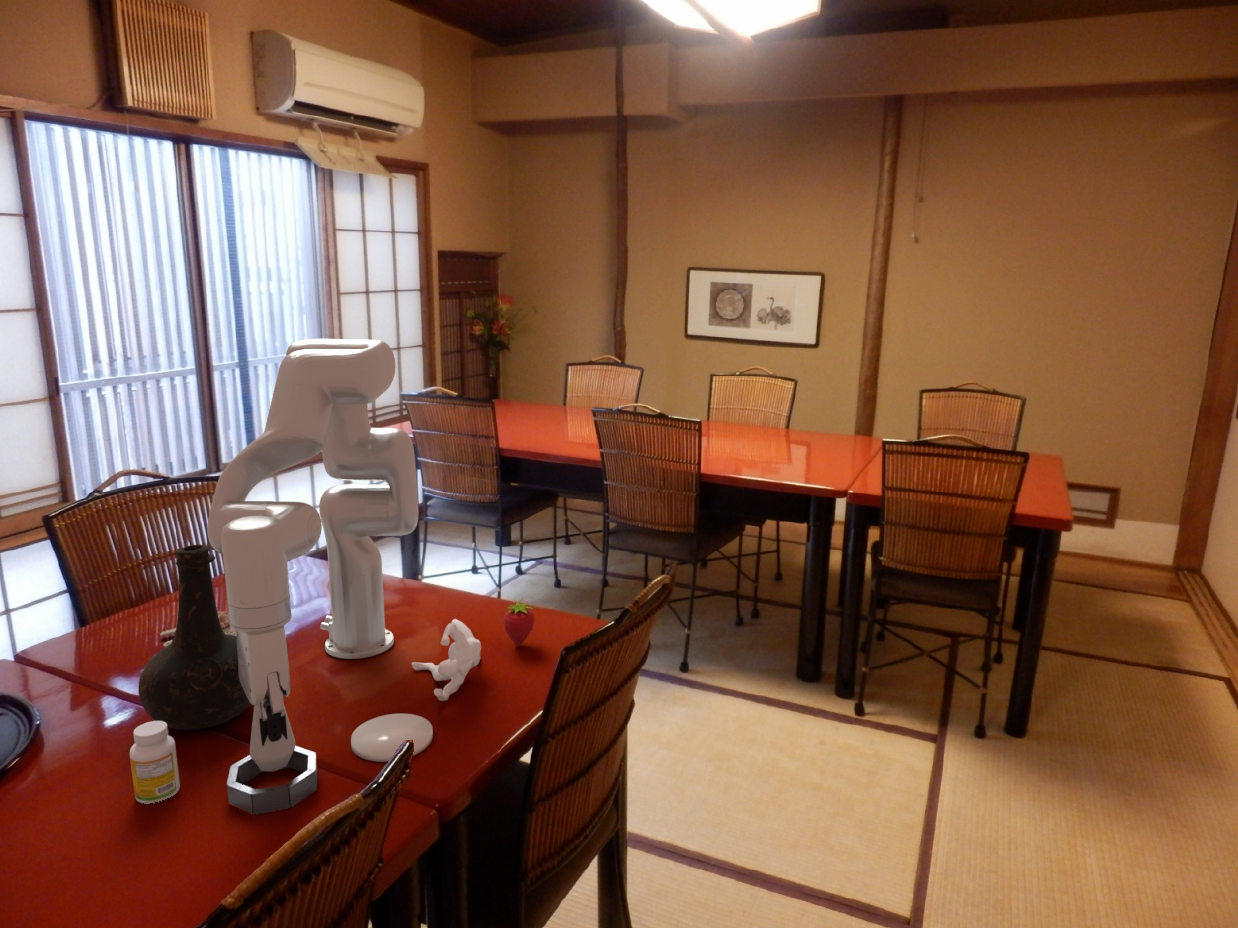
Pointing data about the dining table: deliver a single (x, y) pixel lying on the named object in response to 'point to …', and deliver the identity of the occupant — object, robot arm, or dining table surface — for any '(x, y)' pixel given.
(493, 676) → the dining table surface
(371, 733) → the ceramic coaster
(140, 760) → the supplement bottle
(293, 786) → the metal ring
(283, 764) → the salt shaker
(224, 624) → the decorative turtle
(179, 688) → the glass bottle
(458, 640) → the person figurine
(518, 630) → the strawberry
